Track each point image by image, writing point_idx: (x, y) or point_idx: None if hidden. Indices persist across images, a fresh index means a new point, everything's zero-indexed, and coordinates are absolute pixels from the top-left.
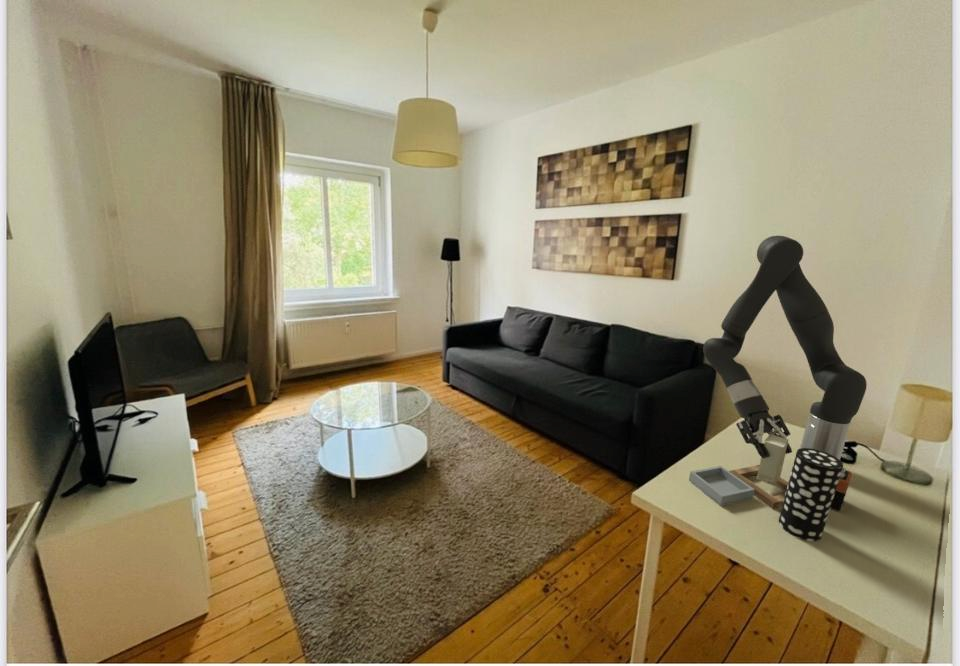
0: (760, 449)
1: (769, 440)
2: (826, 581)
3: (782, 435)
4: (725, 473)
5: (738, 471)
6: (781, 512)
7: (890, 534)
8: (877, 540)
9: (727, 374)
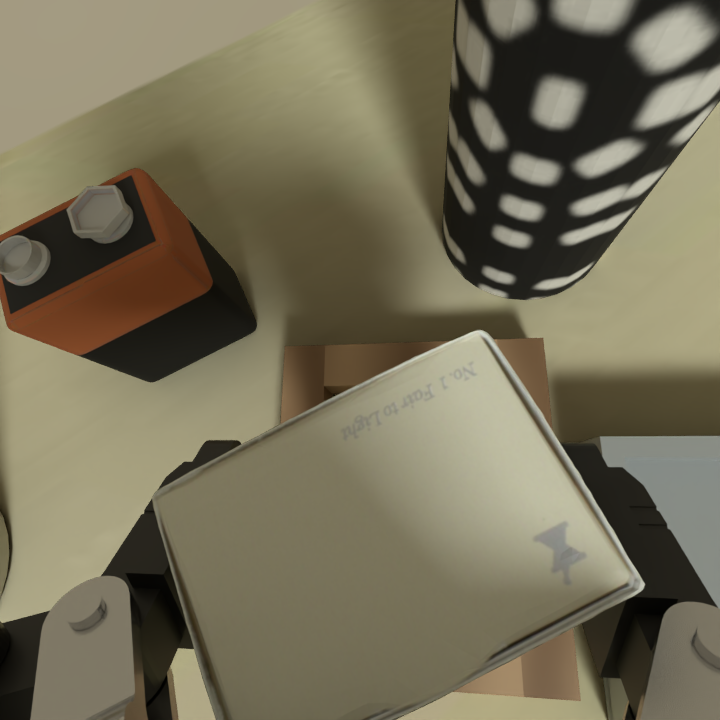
0: (673, 540)
1: (510, 583)
2: None
3: (113, 631)
4: None
5: (505, 665)
6: (611, 242)
7: (191, 148)
8: (272, 134)
9: None
